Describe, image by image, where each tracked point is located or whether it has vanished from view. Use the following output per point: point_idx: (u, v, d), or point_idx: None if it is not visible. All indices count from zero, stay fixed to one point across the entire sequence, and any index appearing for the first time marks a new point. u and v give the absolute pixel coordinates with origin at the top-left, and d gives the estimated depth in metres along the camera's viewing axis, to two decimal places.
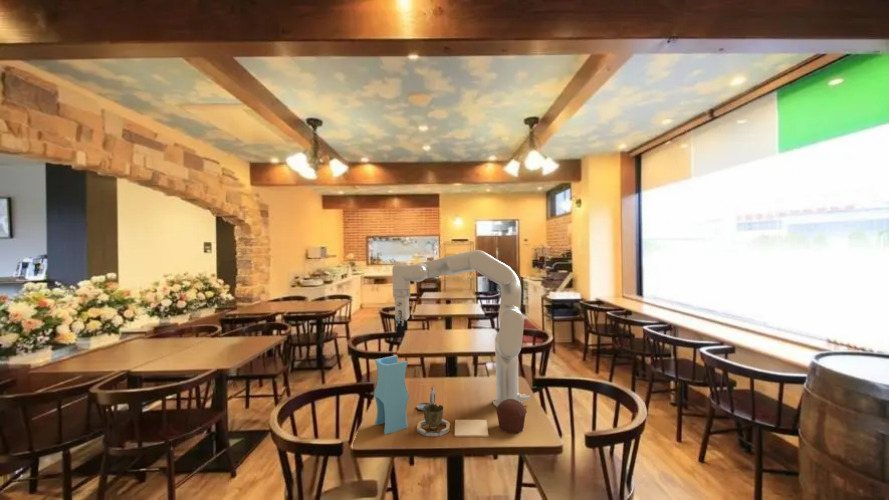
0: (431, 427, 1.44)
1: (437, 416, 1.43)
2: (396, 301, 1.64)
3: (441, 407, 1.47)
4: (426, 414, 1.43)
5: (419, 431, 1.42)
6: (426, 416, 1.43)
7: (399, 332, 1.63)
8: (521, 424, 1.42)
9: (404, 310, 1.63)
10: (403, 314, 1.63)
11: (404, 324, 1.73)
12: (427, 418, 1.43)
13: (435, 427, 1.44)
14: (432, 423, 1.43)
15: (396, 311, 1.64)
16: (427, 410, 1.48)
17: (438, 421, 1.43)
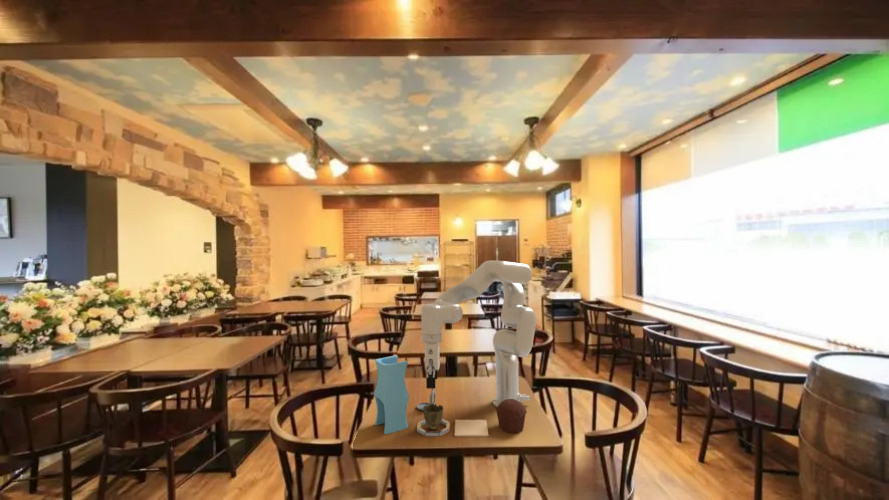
0: (431, 427, 1.44)
1: (437, 416, 1.43)
2: (426, 348, 1.41)
3: (441, 407, 1.47)
4: (426, 414, 1.43)
5: (419, 431, 1.42)
6: (426, 416, 1.43)
7: (430, 385, 1.40)
8: (521, 424, 1.42)
9: (436, 359, 1.40)
10: (435, 364, 1.40)
11: None
12: (427, 418, 1.43)
13: (435, 427, 1.44)
14: (432, 423, 1.43)
15: (426, 360, 1.41)
16: (427, 410, 1.48)
17: (438, 421, 1.43)
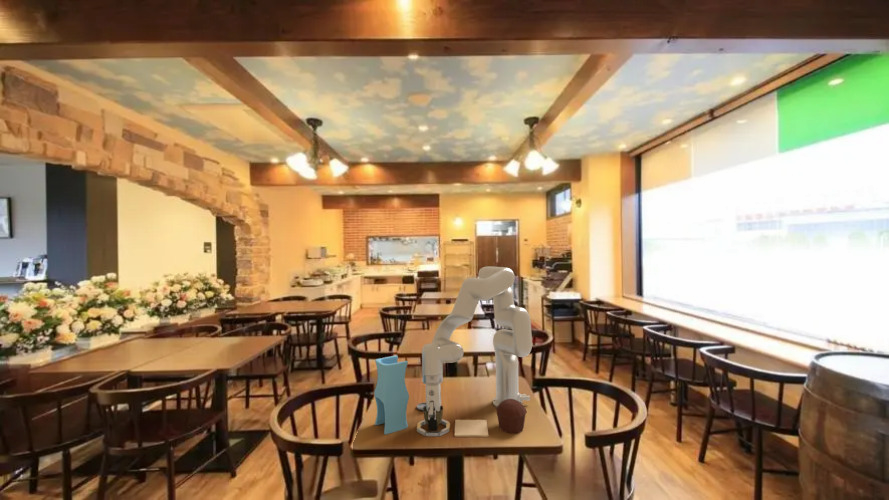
0: None
1: (437, 416, 1.43)
2: (427, 389, 1.41)
3: (441, 407, 1.47)
4: (426, 414, 1.43)
5: (419, 431, 1.42)
6: (426, 416, 1.43)
7: (431, 427, 1.41)
8: (521, 424, 1.42)
9: (437, 400, 1.41)
10: (436, 405, 1.41)
11: None
12: (427, 418, 1.43)
13: None
14: None
15: (427, 401, 1.41)
16: None
17: (438, 421, 1.43)
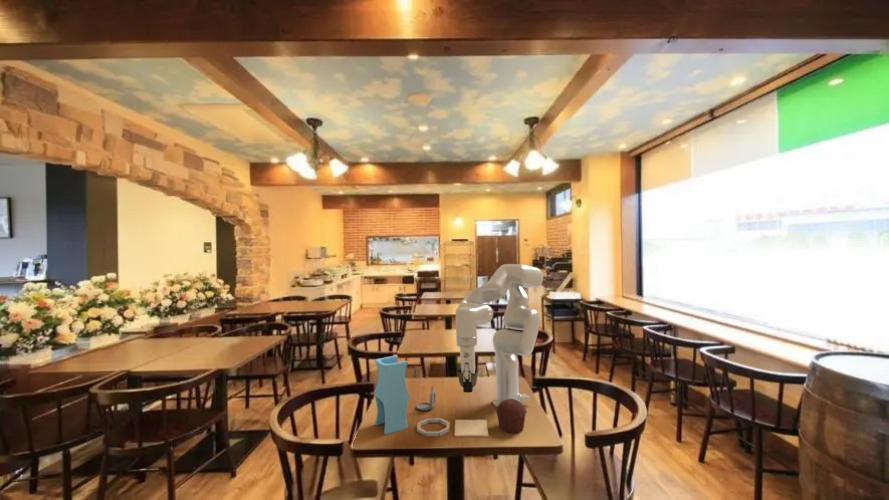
0: None
1: (472, 378, 1.42)
2: (462, 352, 1.41)
3: (475, 370, 1.47)
4: (461, 376, 1.43)
5: (419, 431, 1.42)
6: (461, 378, 1.43)
7: (467, 389, 1.41)
8: (521, 424, 1.42)
9: (472, 362, 1.40)
10: (471, 367, 1.40)
11: None
12: (462, 380, 1.43)
13: None
14: None
15: (462, 363, 1.40)
16: (461, 373, 1.48)
17: (473, 383, 1.43)
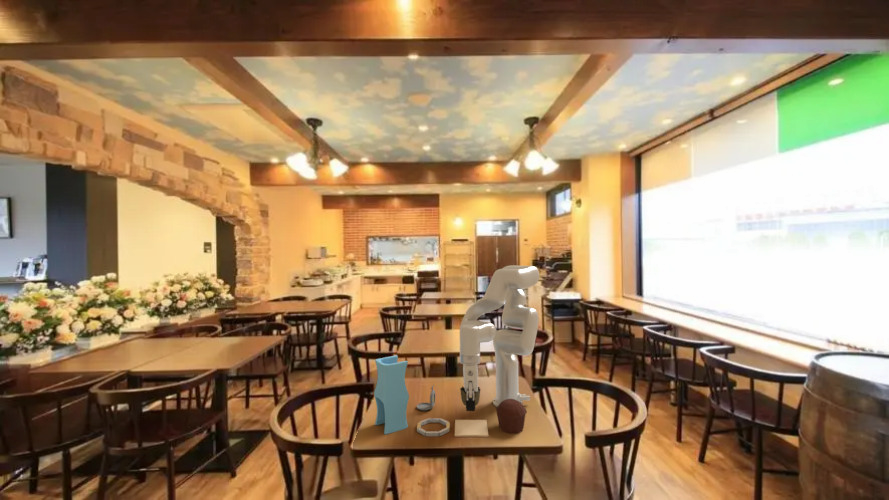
0: None
1: (475, 397, 1.42)
2: (466, 370, 1.40)
3: (478, 388, 1.46)
4: (464, 395, 1.42)
5: (419, 431, 1.42)
6: (464, 397, 1.42)
7: (470, 407, 1.40)
8: (521, 424, 1.42)
9: (475, 380, 1.40)
10: (474, 385, 1.40)
11: None
12: (465, 399, 1.42)
13: None
14: None
15: (466, 381, 1.40)
16: (463, 391, 1.47)
17: (476, 402, 1.42)
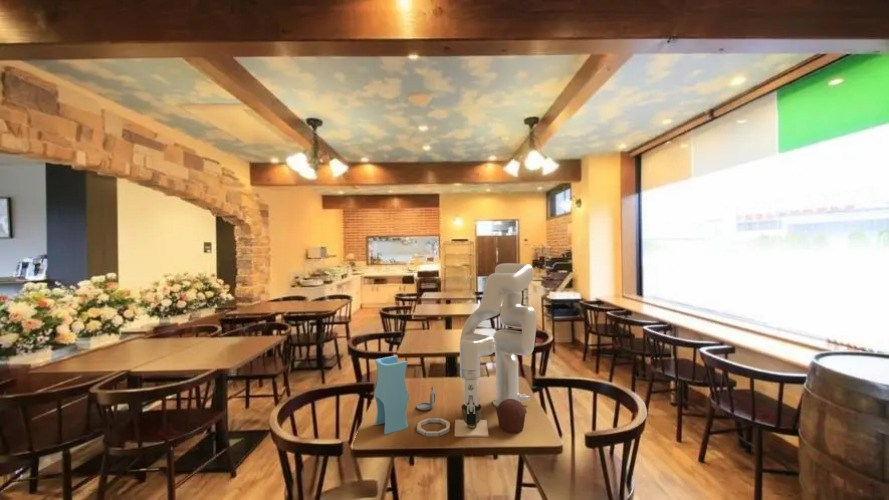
0: (470, 426, 1.43)
1: (476, 415, 1.42)
2: (466, 384, 1.41)
3: (479, 406, 1.46)
4: (465, 413, 1.42)
5: (419, 431, 1.42)
6: (465, 415, 1.42)
7: (470, 421, 1.39)
8: (521, 424, 1.42)
9: (476, 395, 1.40)
10: (475, 400, 1.40)
11: None
12: None
13: (474, 426, 1.43)
14: None
15: (466, 396, 1.40)
16: (465, 409, 1.47)
17: (477, 420, 1.42)
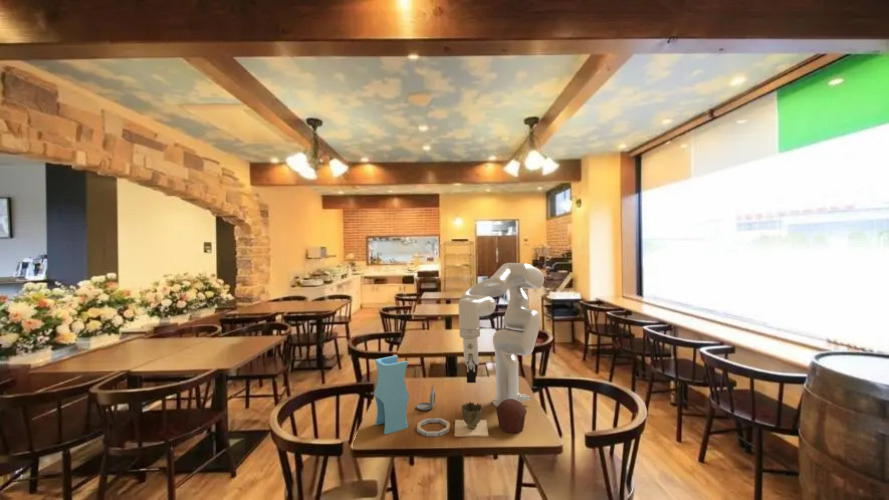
0: (470, 426, 1.43)
1: (477, 415, 1.41)
2: (466, 343, 1.41)
3: (479, 406, 1.46)
4: (465, 413, 1.42)
5: (419, 431, 1.42)
6: (465, 415, 1.42)
7: (470, 379, 1.39)
8: (521, 424, 1.42)
9: (475, 353, 1.40)
10: (474, 358, 1.40)
11: None
12: (467, 417, 1.42)
13: (474, 426, 1.43)
14: (471, 422, 1.42)
15: (466, 355, 1.40)
16: (465, 409, 1.47)
17: (477, 420, 1.42)
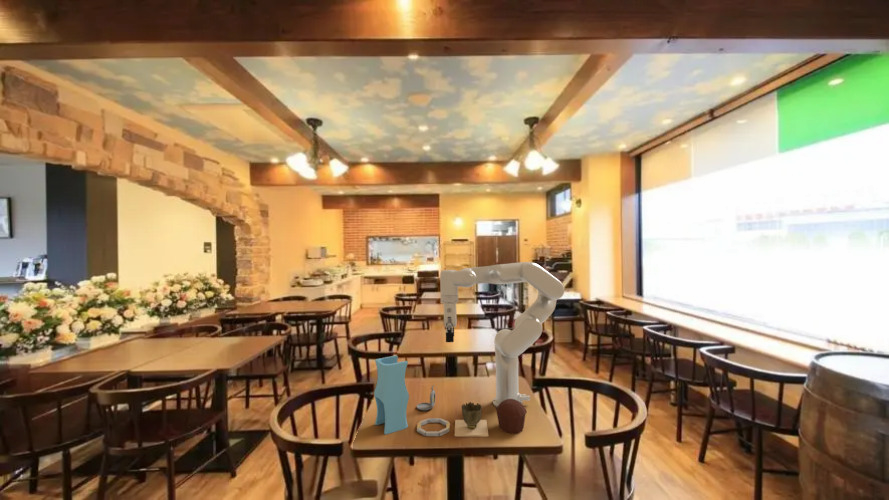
0: (470, 426, 1.43)
1: (476, 415, 1.42)
2: (445, 307, 1.62)
3: (479, 406, 1.46)
4: (465, 413, 1.42)
5: (419, 431, 1.42)
6: (465, 415, 1.42)
7: (449, 339, 1.60)
8: (521, 424, 1.42)
9: (454, 316, 1.61)
10: (453, 320, 1.61)
11: None
12: (467, 417, 1.42)
13: (474, 426, 1.43)
14: (471, 422, 1.42)
15: (445, 317, 1.61)
16: (465, 409, 1.47)
17: (477, 420, 1.42)
